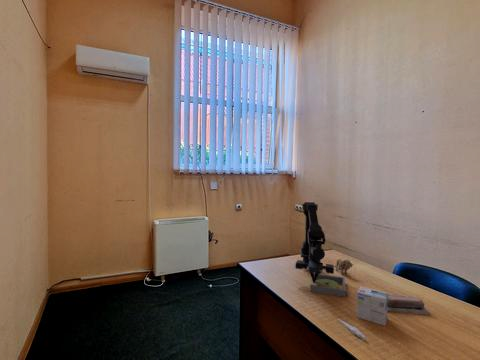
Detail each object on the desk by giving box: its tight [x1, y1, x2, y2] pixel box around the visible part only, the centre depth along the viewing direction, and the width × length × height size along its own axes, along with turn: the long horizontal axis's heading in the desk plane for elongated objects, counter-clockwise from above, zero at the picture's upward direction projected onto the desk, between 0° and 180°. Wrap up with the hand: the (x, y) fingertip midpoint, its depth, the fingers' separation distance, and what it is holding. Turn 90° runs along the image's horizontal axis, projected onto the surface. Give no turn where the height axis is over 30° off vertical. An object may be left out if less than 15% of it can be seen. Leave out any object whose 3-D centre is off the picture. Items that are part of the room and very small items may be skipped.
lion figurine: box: [333, 258, 354, 276], centre depth 156 cm, size 15×5×9 cm, turn 14°
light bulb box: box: [355, 286, 388, 326], centre depth 109 cm, size 11×7×11 cm, turn 56°
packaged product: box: [387, 294, 431, 316], centre depth 117 cm, size 18×5×10 cm
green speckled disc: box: [314, 279, 340, 289], centre depth 136 cm, size 11×11×2 cm
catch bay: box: [309, 272, 346, 298], centre depth 136 cm, size 16×16×3 cm
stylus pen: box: [336, 317, 367, 341], centre depth 101 cm, size 15×3×2 cm, turn 21°
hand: (314, 282), depth 138 cm, fingers closed
